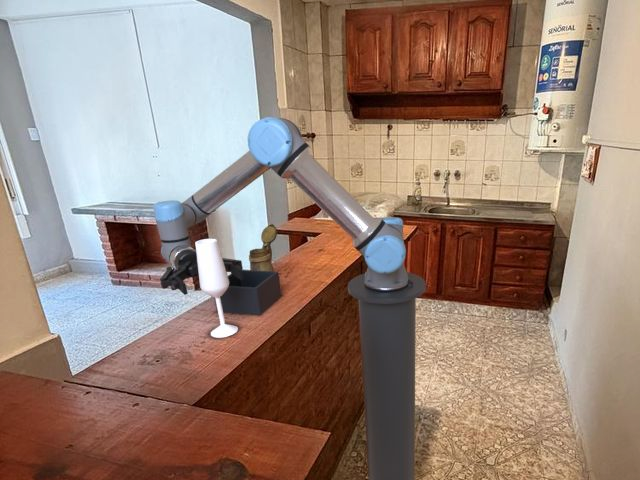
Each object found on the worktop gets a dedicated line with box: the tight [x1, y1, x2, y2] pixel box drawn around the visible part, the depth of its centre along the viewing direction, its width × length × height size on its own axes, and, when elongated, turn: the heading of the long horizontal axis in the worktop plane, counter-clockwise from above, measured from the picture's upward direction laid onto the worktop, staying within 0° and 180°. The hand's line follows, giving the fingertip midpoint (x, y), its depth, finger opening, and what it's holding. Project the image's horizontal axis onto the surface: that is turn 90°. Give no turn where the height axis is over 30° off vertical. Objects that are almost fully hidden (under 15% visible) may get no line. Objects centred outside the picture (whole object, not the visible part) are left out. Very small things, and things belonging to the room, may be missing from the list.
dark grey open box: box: [213, 269, 282, 316], centre depth 117 cm, size 14×14×8 cm
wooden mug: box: [248, 223, 278, 271], centre depth 133 cm, size 9×14×18 cm, turn 159°
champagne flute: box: [195, 238, 239, 339], centre depth 98 cm, size 7×7×24 cm
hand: (214, 281), depth 97 cm, fingers open, 13 cm apart
